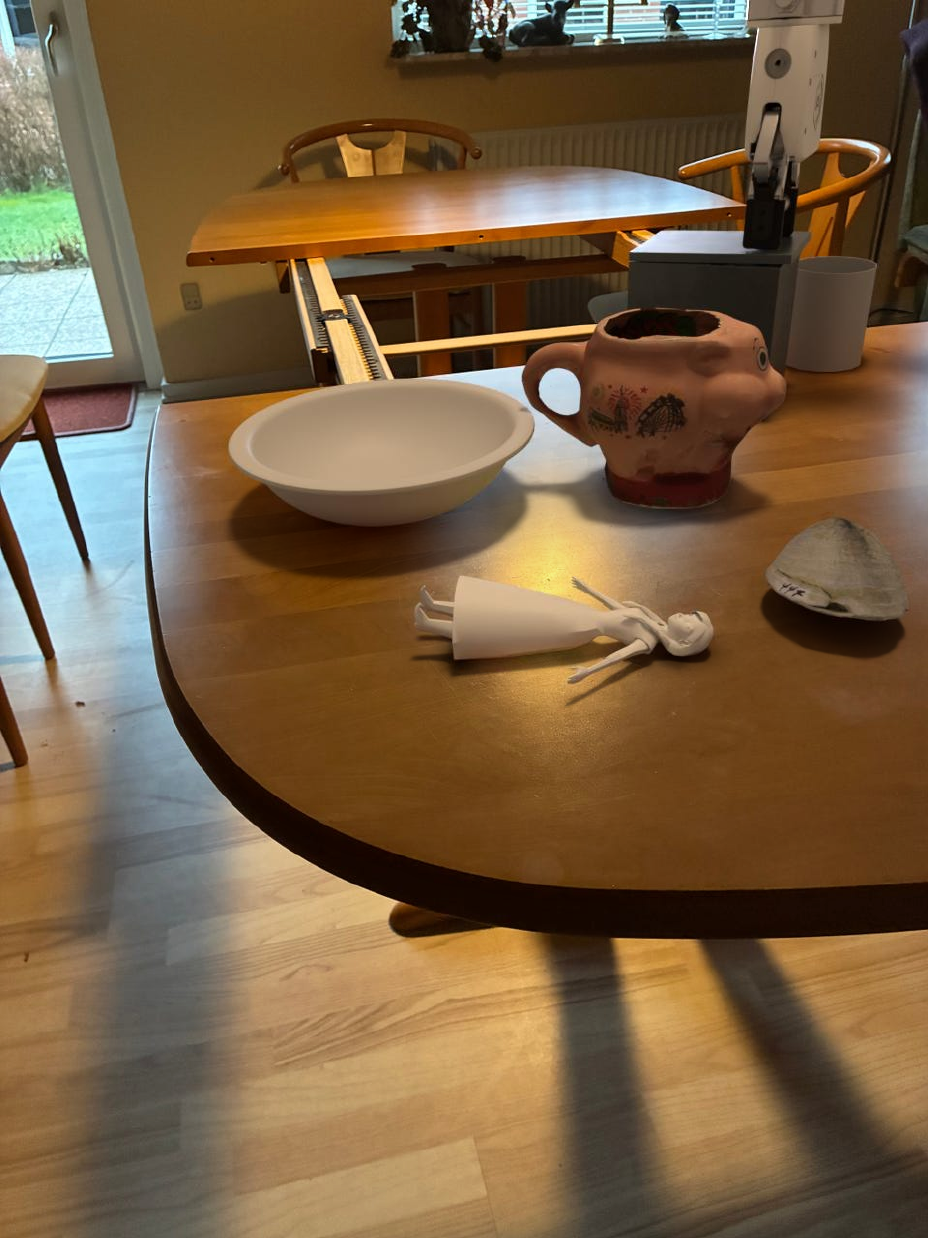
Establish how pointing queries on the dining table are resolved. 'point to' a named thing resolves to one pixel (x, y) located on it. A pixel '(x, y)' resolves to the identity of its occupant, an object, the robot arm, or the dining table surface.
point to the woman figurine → (553, 624)
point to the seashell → (840, 573)
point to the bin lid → (717, 247)
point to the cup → (830, 313)
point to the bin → (723, 295)
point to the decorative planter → (664, 400)
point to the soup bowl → (382, 448)
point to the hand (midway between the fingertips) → (768, 239)
